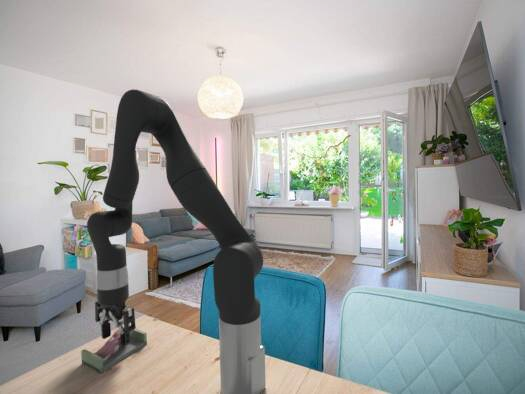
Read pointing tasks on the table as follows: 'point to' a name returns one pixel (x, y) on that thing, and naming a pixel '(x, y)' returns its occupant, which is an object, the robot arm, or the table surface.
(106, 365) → the tray
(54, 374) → the table surface
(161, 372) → the table surface
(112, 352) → the video game controller
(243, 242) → the robot arm
